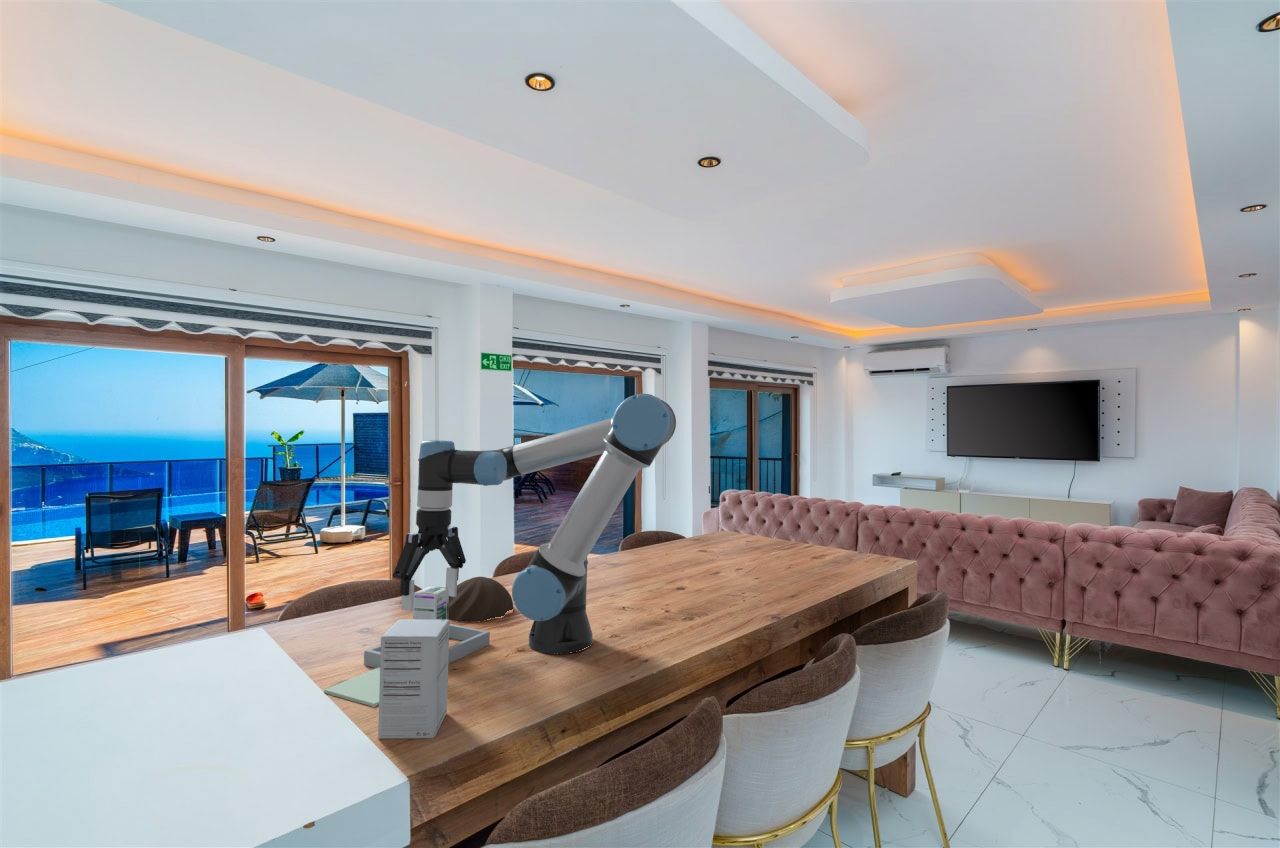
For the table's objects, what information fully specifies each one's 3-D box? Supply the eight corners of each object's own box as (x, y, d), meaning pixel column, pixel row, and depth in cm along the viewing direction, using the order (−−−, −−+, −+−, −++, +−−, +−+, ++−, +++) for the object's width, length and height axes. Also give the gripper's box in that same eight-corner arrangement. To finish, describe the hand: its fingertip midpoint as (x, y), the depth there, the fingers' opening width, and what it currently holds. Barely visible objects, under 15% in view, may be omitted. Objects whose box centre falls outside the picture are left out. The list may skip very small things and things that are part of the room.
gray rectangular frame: (489, 644, 146) (489, 631, 146) (417, 678, 125) (417, 663, 125) (440, 634, 152) (440, 622, 152) (363, 664, 131) (364, 650, 131)
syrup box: (435, 659, 135) (437, 593, 135) (410, 657, 136) (413, 591, 137) (448, 651, 141) (450, 587, 141) (424, 648, 142) (426, 585, 142)
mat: (426, 681, 123) (426, 678, 123) (374, 707, 111) (374, 703, 111) (379, 669, 129) (379, 667, 129) (324, 692, 117) (324, 689, 117)
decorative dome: (509, 601, 184) (510, 567, 184) (516, 621, 165) (517, 583, 165) (442, 604, 179) (443, 570, 179) (440, 625, 160) (441, 586, 160)
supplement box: (394, 713, 109) (397, 618, 110) (447, 712, 110) (450, 618, 110) (376, 740, 100) (379, 635, 100) (434, 739, 100) (437, 635, 101)
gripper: (458, 502, 152) (455, 588, 152) (377, 512, 129) (373, 613, 129) (483, 504, 149) (479, 592, 149) (404, 515, 126) (399, 619, 126)
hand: (429, 602), depth 139 cm, fingers open, 13 cm apart
